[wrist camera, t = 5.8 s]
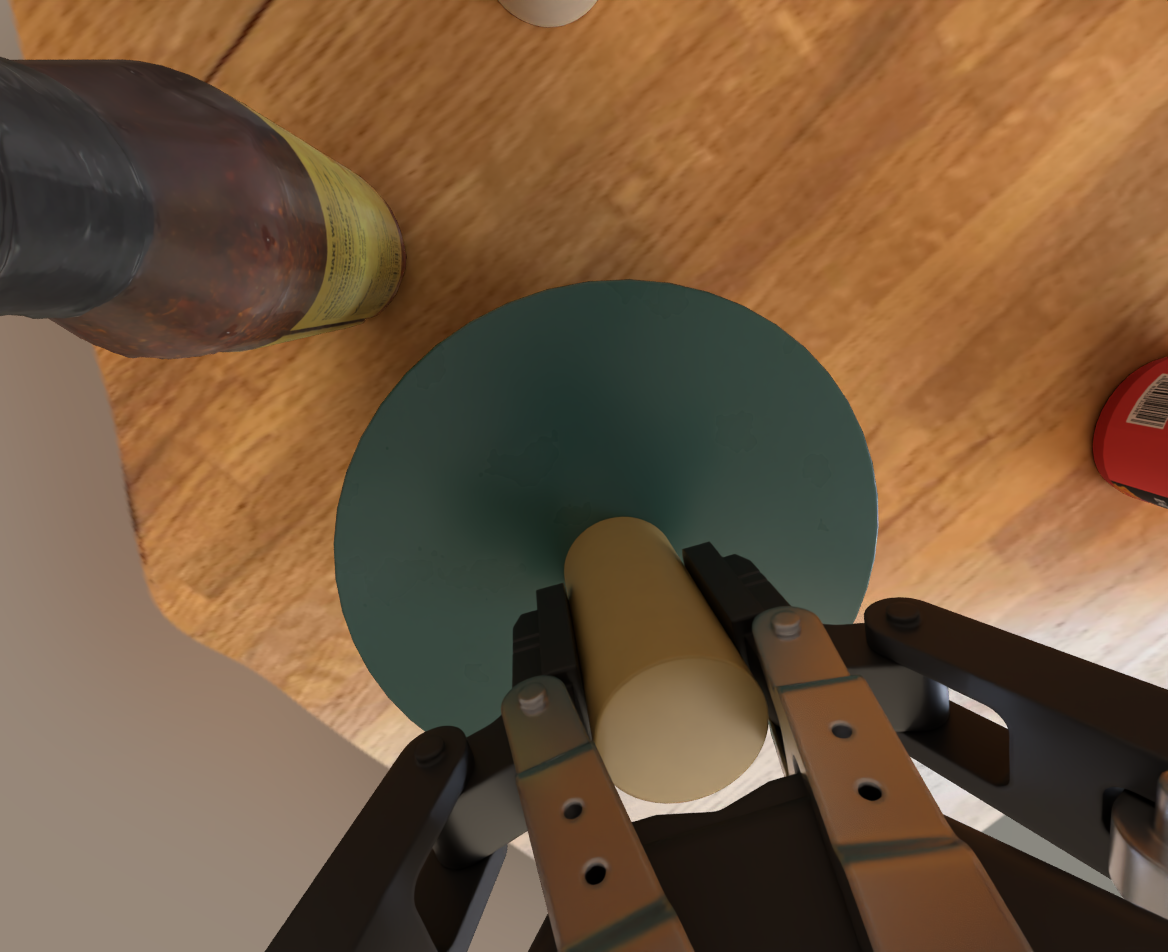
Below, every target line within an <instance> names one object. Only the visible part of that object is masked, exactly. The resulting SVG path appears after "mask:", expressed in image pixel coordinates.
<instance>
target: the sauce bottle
mask: <svg viewBox="0 0 1168 952" xmlns="http://www.w3.org/2000/svg"><path fill="white" fill-rule="evenodd" d="M406 258H407V256H406V253H405V246H404V243H403V239H402V235H401V231H400V229H399V225H398V223H397V220H396V218H395V216H394V214H393V212H392V210H391V208H390V207H389V205H388V204H387V203H386V202H385V201H384V200H383V199H382V198H381V197H380V196H379V194H378V193H377V192H376V191H375V190H374V189H373V188H372V187H371V186H370V185H369V184H368V183H367V182H366V181H365V180H364V179H362V178H361V177H359V176H358V175H357V174H355V173H354V172H352V171H351V170H349V169H348V168H346V167H344V166H343V165H341V164H340V163H338V162H336V161H335V160H333V159H331V158H330V157H328V156H327V155H325V154H323V153H321V152H320V151H318V150H316V149H315V148H313V147H312V146H310V145H309V144H307V143H306V142H304V141H302V140H301V139H299V138H298V137H296V136H294V135H293V134H291V133H290V132H288V131H286V130H285V129H283V128H282V127H280V126H278V125H277V124H275V123H274V122H272V121H270V120H269V119H267V118H266V117H264V116H262V115H261V114H259V113H257V112H256V111H254V110H252V109H251V108H249V107H248V106H247V105H245V104H244V103H242V102H240V101H238V100H236V99H234V98H233V97H231V96H229V95H227V94H226V93H224V92H222V91H221V90H219V89H217V88H215V87H214V86H212V85H210V84H207V83H205V82H203V81H201V80H199V79H197V78H195V77H193V76H191V75H188V74H185V73H182V72H179V71H176V70H173V69H171V68H168V67H165V66H161V65H156V64H151V63H146V62H141V61H133V60H9V59H6V58H2V57H0V316H3V315H18V316H26V317H29V318H33V319H43V318H48V319H50V320H52V321H53V322H55V323H57V324H58V325H60V326H61V327H63V328H65V329H66V330H68V331H70V332H71V333H73V334H74V335H76V336H78V337H79V338H81V339H84V340H86V341H88V342H90V343H91V344H93V345H96V346H99V347H102V348H105V349H107V350H109V351H111V352H113V353H117V354H120V355H123V356H125V357H129V358H137V357H152V358H159V359H178V358H190V357H200V356H204V355H208V354H215V353H217V352H241V351H246V350H252V349H257V348H261V347H265V346H270V345H274V344H279V343H283V342H288V341H292V340H297V339H301V338H305V337H310V336H314V335H318V334H322V333H327V332H331V331H335V330H340V329H344V328H349V327H353V326H356V325H359V324H361V323H364V322H365V319H367V318H371V317H374V316H377V315H378V314H379V313H380V312H382V311H383V310H384V309H385V308H386V307H387V305H388V304H389V303H390V302H391V301H392V299H393V298H394V296H395V294H396V293H397V292H398V288H399V285H400V283H401V279H402V277H403V273H404V271H405V268H406Z"/></svg>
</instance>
